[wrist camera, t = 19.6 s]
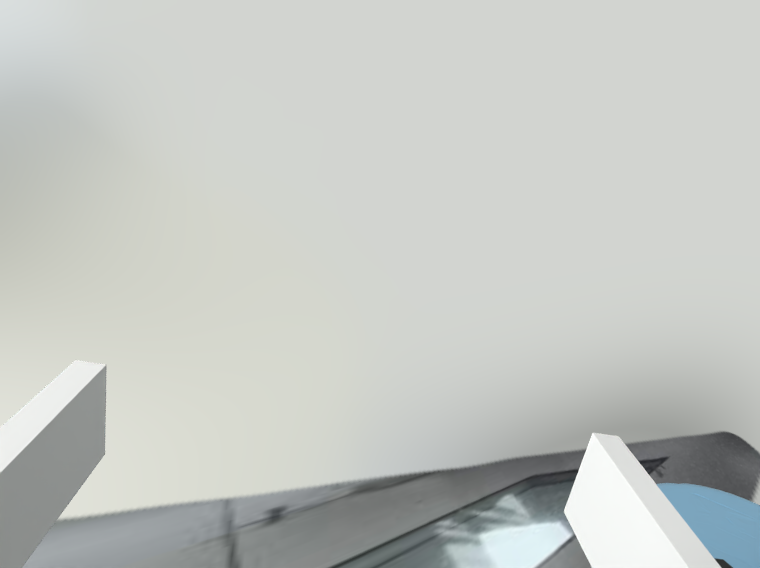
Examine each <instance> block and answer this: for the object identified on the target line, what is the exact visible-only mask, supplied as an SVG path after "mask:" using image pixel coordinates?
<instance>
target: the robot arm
mask: <svg viewBox="0 0 760 568" xmlns="http://www.w3.org/2000/svg"><path fill="white" fill-rule="evenodd" d="M105 409H106V364H99V363H92V362H84V361H78V360H75V361H74V362H73V363H72V364H70V365H69V366H68V367H67V368H66V369H65V370H64V371H63V372H61V373H60V374H59V375H58V376H57V377H56V378H55V379H54V380H53V381H51V382H50V383H49V384H48V385H47V386H46V387H45V388H44V389H42V390H41V392H39V393H38V394H37V395H36V396H35V397H34V398H32V399H31V400H30V401H29V402H28V403H27V404H26V405H25V406H23V407H22V408H21V409H20V410H19V411H18V412H17V413H16V414H14V416H12V417H11V418H10V419H9V420H8V421H7V422H6V423H5V424H3V425H2V426H1V427H0V568H22V567H23V565H24V564H25V563H26V561H27V560H28V559H29V557H30V556H31V554H32V553H33V552H34V550H35V549H36V548H37V546H38V545H39V544H40V542H41V541H42V539H43V538H44V537H45V535H46V534H47V533H48V531H49V530H50V528H51V527H52V526H53V524H54V523H55V522H56V520H57V519H58V518H59V516H60V515H61V513H62V512H63V511H64V509H65V508H66V507H67V505H68V504H69V502H70V501H71V500H72V498H73V497H74V496H75V494H76V493H77V492H78V490H79V489H80V487H81V486H82V485H83V483H84V482H85V481H86V479H87V478H88V476H89V475H90V474H91V472H92V471H93V470H94V468H95V467H96V465H97V464H98V463H99V462H100V460H101V459H102V457H103V456H104V455H105V416H106V415H105V413H106V410H105ZM564 513H565V515H566V517H567V519H568V521H569V523H570V525H571V527H572V529H573V531H574V533H575V535H576V537H577V539H578V541H579V543H580V545H581V547H582V549H583V550H584V552H585V554H586V556H587V558H588V560H589V562H590V564H591V566H592V568H760V505H758V504H756V503H753V502H751V501H749V500H746V499H744V498H741V497H738V496H736V495H733V494H730V493H727V492H724V491H721V490H717V489H713V488H709V487H704V486H700V485H693V484H686V483H684V484H673V483H661V484H655V482H654V481H653V480H652V478H651V477H650V476H649V475H648V473H647V472H646V471H645V469H644V468H643V467H642V466H641V464H640V463H639V462H638V461H637V459H636V458H635V457H634V455H633V454H632V453H631V452H630V450H629V449H628V448H627V446H626V445H625V444H624V443H623V441H622V440H621V439H620V438H619V437H618V436H613V435H605V434H598V433H592V436H591V439H590V442H589V444H588V447H587V450H586V452H585V455H584V458H583V460H582V463H581V466H580V469H579V471H578V474H577V477H576V480H575V482H574V485H573V488H572V491H571V493H570V496H569V499H568V501H567V504H566V507H565V510H564Z"/></svg>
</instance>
